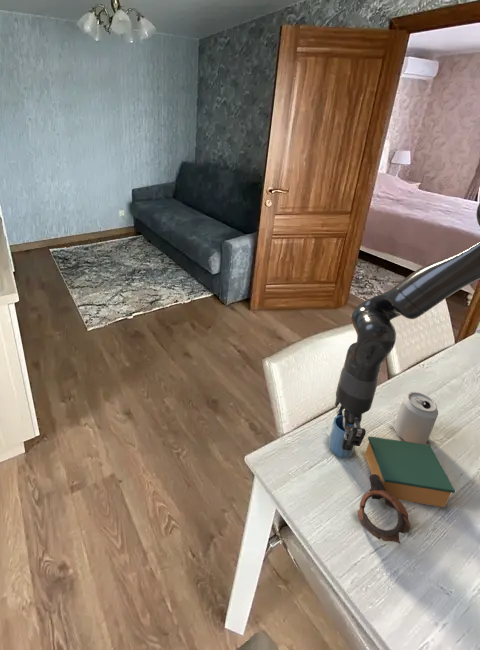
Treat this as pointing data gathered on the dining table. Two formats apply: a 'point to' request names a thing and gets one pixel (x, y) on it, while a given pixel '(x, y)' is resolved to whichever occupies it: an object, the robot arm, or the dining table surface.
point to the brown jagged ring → (378, 493)
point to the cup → (338, 438)
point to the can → (416, 418)
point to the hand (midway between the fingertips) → (342, 437)
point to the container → (409, 471)
